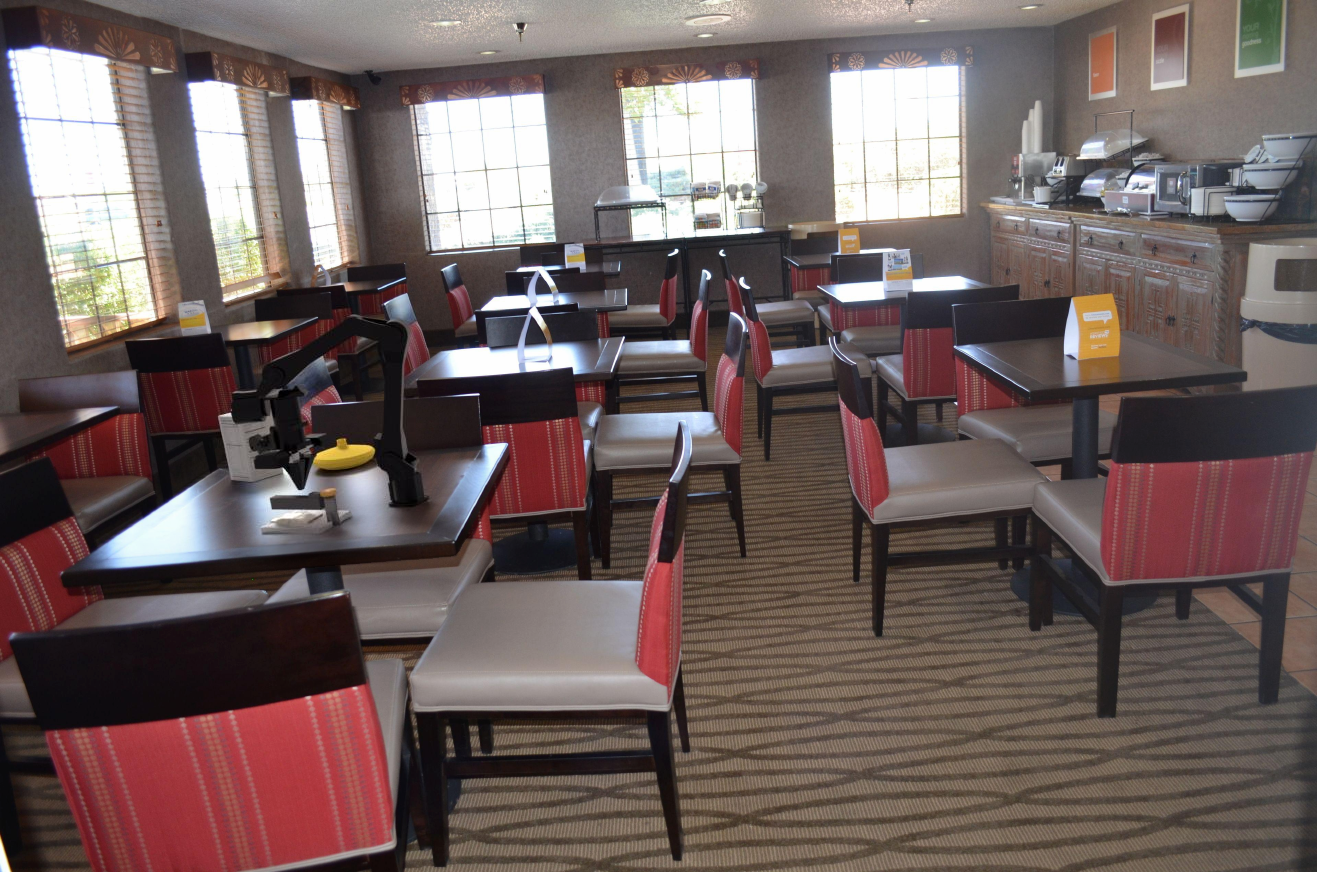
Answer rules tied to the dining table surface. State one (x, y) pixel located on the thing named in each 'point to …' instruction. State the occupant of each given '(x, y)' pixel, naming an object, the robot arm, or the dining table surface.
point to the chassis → (308, 519)
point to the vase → (343, 456)
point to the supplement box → (244, 448)
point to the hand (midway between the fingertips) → (301, 489)
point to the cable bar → (301, 501)
